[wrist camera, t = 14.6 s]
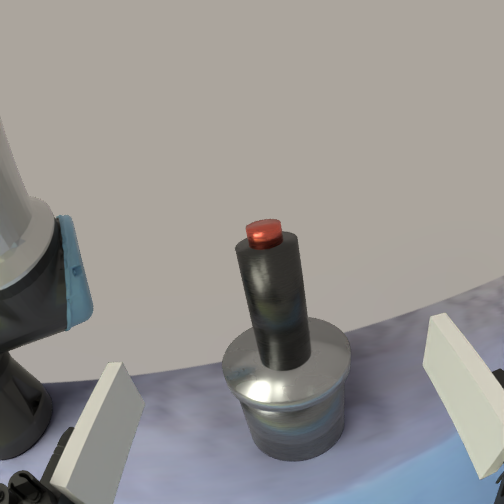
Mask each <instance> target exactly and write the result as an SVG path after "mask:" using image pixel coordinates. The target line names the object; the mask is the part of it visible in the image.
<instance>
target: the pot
mask: <svg viewBox="0 0 504 504" xmlns="http://www.w3.org/2000/svg"><path fill="white" fill-rule="evenodd" d="M240 403H241V406H242V409H243V412H244V415H245V418H246V421H247V424H248V427H249V429H250V432H251V435H252V438H253V440H254V442H255V444H256V445H257V447H258V448H259V449H260V450H261V451H262V452H264V453H265V454H267V455H268V456H270V457H272V458H275V459H278V460H283V461H303V460H308V459H311V458H314V457H317V456H319V455H321V454H323V453H324V452H326V451H327V450H329V449H330V448H331V447H332V446H333V445H334V444H335V443H336V442H337V440H338V439H339V437H340V436H341V434H342V431H343V427H344V383H343V385H342V386H341V387H340V388H339V389H338V390H337V391H336V392H335V393H334V394H333V395H332V396H330V397H329V398H327V399H326V400H324V401H322V402H321V403H319V404H316V405H314V406H312V407H309V408H306V409H302V410H298V411H292V412H268V411H262V410H258V409H255V408H252V407H250V406H248V405H246V404H244V403H242V402H241V401H240Z"/></svg>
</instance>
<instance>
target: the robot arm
mask: <svg viewBox="0 0 504 504" xmlns="http://www.w3.org/2000/svg"><path fill="white" fill-rule="evenodd" d="M92 313H93V302H92V298H91V294H90V290H89V286H88V282H87V278H86V274H85V271H84V267H83V262H82V258H81V254H80V250H79V246H78V241H77V237H76V233H75V228H74V224H73V221H72V218H71V217H70V216H69V215H64V216H62V215H59V216H57V217H56V219H55V218H54V215H53V213H52V211H51V209H50V207H49V206H48V204H47V203H46V202H44V201H43V200H41V199H39V198H36V197H30V196H28V193H27V191H26V189H25V186H24V184H23V182H22V179H21V176H20V174H19V172H18V168H17V166H16V163H15V161H14V158H13V155H12V152H11V149H10V146H9V143H8V140H7V137H6V134H5V131H4V128H3V124H2V121H1V118H0V460H3V459H9V458H12V457H15V456H17V455H19V454H21V453H23V452H24V451H26V450H27V449H29V448H30V447H31V446H32V445H33V444H34V443H35V442H36V441H37V440H38V439H39V438H40V437H41V435H42V434H43V432H44V431H45V429H46V427H47V426H48V423H49V421H50V418H51V414H52V400H51V397H50V395H49V394H48V392H47V391H46V390H45V388H44V387H43V385H42V384H41V383H40V382H39V381H38V380H37V379H36V378H35V377H34V376H33V375H31V374H30V373H29V372H28V371H27V370H26V369H24V368H23V367H22V366H21V365H20V364H19V363H18V362H16V361H15V360H14V359H13V358H12V357H11V355H10V354H9V352H8V351H10V350H13V349H15V348H18V347H21V346H23V345H26V344H29V343H32V342H35V341H37V340H40V339H43V338H46V337H49V336H52V335H54V334H57V333H60V332H63V331H68V330H70V329H71V327H73V326H75V325H78V324H80V323H82V322H85V321H86V320H88V319H89V318H90V317H91V315H92ZM422 365H423V367H424V369H425V370H426V372H427V374H428V376H429V378H430V379H431V381H432V383H433V385H434V387H435V389H436V390H437V392H438V394H439V396H440V398H441V400H442V402H443V404H444V406H445V407H446V409H447V411H448V413H449V415H450V417H451V419H452V421H453V423H454V425H455V427H456V429H457V431H458V433H459V435H460V437H461V439H462V441H463V444H464V446H465V448H466V450H467V452H468V454H469V456H470V459H471V461H472V463H473V465H474V467H475V470H476V472H477V474H478V476H479V479H480V480H481V479H483V478H485V477H487V476H489V475H491V474H493V473H495V472H497V471H498V469H499V468H500V467H501V465H502V464H503V463H504V371H503V370H502V369H498V370H495V371H493V372H491V371H490V370H489V368H488V367H487V365H486V364H485V363H484V361H483V360H482V359H481V357H480V356H479V355H478V353H477V352H476V351H475V349H474V348H473V347H472V346H471V344H470V343H469V342H468V340H467V339H466V338H465V337H464V335H463V334H462V333H461V331H460V330H459V329H458V328H457V326H456V325H455V324H454V323H453V322H452V320H451V319H450V318H449V317H448V315H447V314H446V313H442V314H438V315H434V316H430V320H429V328H428V335H427V341H426V347H425V353H424V359H423V364H422ZM144 406H145V402H144V401H143V399H142V397H141V395H140V394H139V392H138V390H137V388H136V387H135V385H134V383H133V381H132V379H131V377H130V376H129V374H128V372H127V370H126V368H125V366H124V364H123V362H110V363H108V364H107V366H106V368H105V370H104V371H103V373H102V375H101V377H100V379H99V381H98V383H97V385H96V387H95V388H94V390H93V392H92V394H91V396H90V398H89V400H88V402H87V404H86V406H85V408H84V410H83V412H82V414H81V416H80V418H79V420H78V422H77V424H76V426H75V428H74V427H69V428H68V429H67V430H66V431H65V432H64V433H63V435H62V436H61V438H60V440H59V442H58V444H57V447H56V448H55V450H54V452H53V453H54V454H52V456H51V459H50V461H49V463H48V465H47V467H46V469H45V471H44V474H43V476H42V478H41V480H40V482H39V481H38V480H37V479H36V478H35V477H34V476H33V475H32V474H31V473H29V472H28V471H24V470H22V471H18V472H16V473H15V474H13V476H12V477H11V478H10V480H9V483H8V487H7V486H5V485H4V484H2V483H0V504H113V502H114V499H115V496H116V492H117V489H118V486H119V482H120V479H121V476H122V473H123V470H124V466H125V463H126V460H127V457H128V454H129V451H130V448H131V445H132V442H133V439H134V436H135V433H136V430H137V427H138V424H139V421H140V418H141V415H142V412H143V409H144ZM501 480H502V481H501ZM500 481H501V484H500V487H499V490H498V493H497V496H496V499H495V502H494V504H504V472H503V473H502V474H501V475H500V477H499V478H498V479H497V481H496V483H497V484H498V483H499V482H500Z"/></svg>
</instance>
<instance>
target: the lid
mask: <svg viewBox="0 0 504 504" xmlns="http://www.w3.org/2000/svg"><path fill="white" fill-rule="evenodd" d="M246 232H247V238H246V239H244V240H242V241H241V242H239V243H238V244H237V245H236V247H235V250H236V254H237V259H238V263H239V268H240V273H241V277H242V281H243V286H244V290H245V295H246V299H247V304H248V308H249V312H250V317H251V321H252V326H253V327H252V328H250V329H248V330H246V331H245V332H243V333H242V334H241V335H239V336H238V337H237V338H236V339H235V340H234V341H233V342H232V343H231V344H230V345H229V347H228V348H227V350H226V352H225V354H224V357H223V361H222V369H223V373H224V376H225V379H226V382H227V385H228V387H229V389H230V391H231V392H232V394H233V395H234V396H235V397H236V398H237V399H238V400H240V401H241V402H242V403H244V404H246V405H248V406H250V407H252V408H255V409H258V410H262V411H268V412H292V411H298V410H302V409H306V408H309V407H312V406H314V405H316V404H319V403H321V402H322V401H324V400H326V399H327V398H329V397H330V396H332V395H333V394H334V393H335V392H336V391H337V390H338V389H339V388H340V387H341V386H342V385H343V383H344V382H345V380H346V378H347V376H348V374H349V371H350V365H351V350H350V344H349V341H348V339H347V337H346V336H345V334H344V333H343V332H342V331H341V330H340V329H339V328H337V327H336V326H334V325H332V324H330V323H328V322H326V321H323V320H320V319H316V318H310V317H308V316H307V307H306V299H305V291H304V283H303V275H302V268H301V260H300V253H299V246H298V239H297V236H296V235H295V234H293V233H290V232H283V231H282V229H281V222H280V221H279V220H277V219H265V220H259V221H256V222H253V223H251V224H249V225H247V226H246Z"/></svg>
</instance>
